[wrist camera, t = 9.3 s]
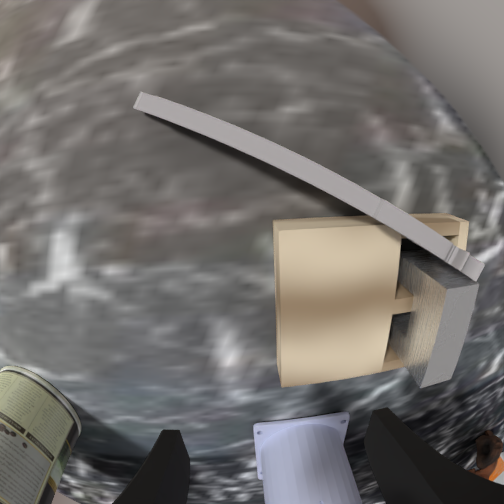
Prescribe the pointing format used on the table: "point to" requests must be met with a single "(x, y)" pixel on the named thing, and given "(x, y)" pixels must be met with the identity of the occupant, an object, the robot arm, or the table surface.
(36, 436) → the coffee can
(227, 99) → the table surface
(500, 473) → the skincare box
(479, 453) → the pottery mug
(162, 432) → the robot arm
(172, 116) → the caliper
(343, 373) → the tan wooden flat block
